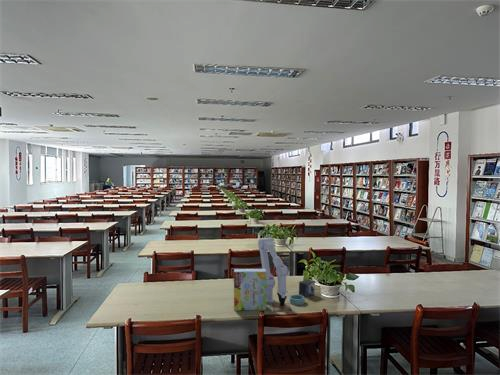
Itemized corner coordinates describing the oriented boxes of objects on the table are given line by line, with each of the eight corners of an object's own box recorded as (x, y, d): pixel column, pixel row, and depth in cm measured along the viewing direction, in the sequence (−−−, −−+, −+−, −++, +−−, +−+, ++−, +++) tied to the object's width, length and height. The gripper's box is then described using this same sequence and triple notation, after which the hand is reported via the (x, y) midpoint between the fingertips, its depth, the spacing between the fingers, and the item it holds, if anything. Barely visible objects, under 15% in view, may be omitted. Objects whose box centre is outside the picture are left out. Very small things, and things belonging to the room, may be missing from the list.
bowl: (290, 305, 237) (290, 299, 237) (288, 300, 247) (288, 294, 247) (305, 305, 237) (305, 299, 237) (302, 300, 247) (302, 294, 247)
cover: (273, 311, 225) (273, 304, 225) (271, 304, 237) (271, 298, 237) (292, 311, 226) (292, 304, 226) (289, 304, 238) (289, 298, 238)
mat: (272, 312, 224) (272, 312, 224) (270, 304, 238) (270, 304, 238) (293, 312, 225) (293, 312, 225) (290, 304, 239) (290, 303, 239)
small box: (304, 298, 252) (304, 283, 251) (298, 295, 257) (298, 281, 256) (314, 295, 258) (315, 281, 257) (308, 292, 263) (308, 279, 263)
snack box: (265, 305, 236) (266, 268, 235) (266, 310, 228) (267, 271, 227) (233, 305, 235) (234, 268, 235) (233, 310, 227) (233, 271, 226)
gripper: (289, 288, 224) (289, 309, 224) (286, 281, 238) (286, 300, 239) (278, 288, 223) (278, 309, 224) (276, 281, 238) (275, 301, 238)
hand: (281, 304), depth 231 cm, fingers open, 4 cm apart
